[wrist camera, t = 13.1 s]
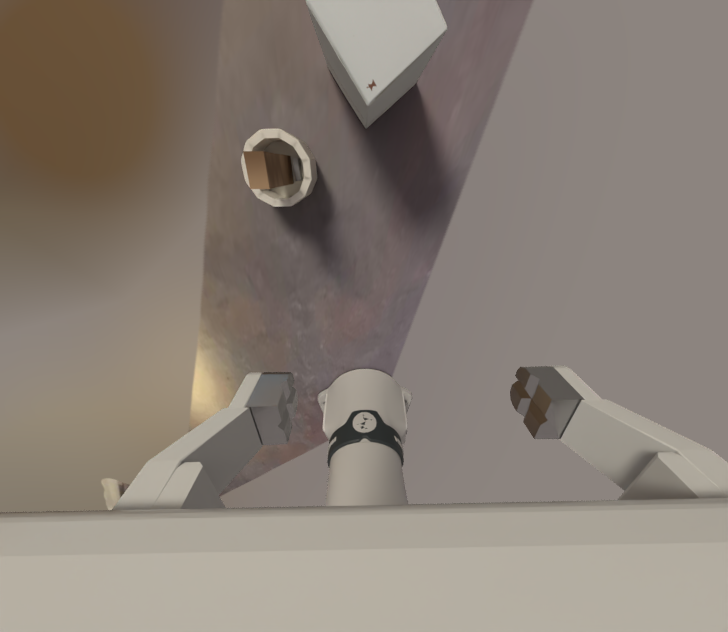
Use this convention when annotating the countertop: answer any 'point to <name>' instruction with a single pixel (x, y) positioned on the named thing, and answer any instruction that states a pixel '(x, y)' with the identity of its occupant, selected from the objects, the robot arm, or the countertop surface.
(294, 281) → the countertop surface
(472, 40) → the countertop surface
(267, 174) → the brown rectangular block
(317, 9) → the supplement box
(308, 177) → the faceted white cup
